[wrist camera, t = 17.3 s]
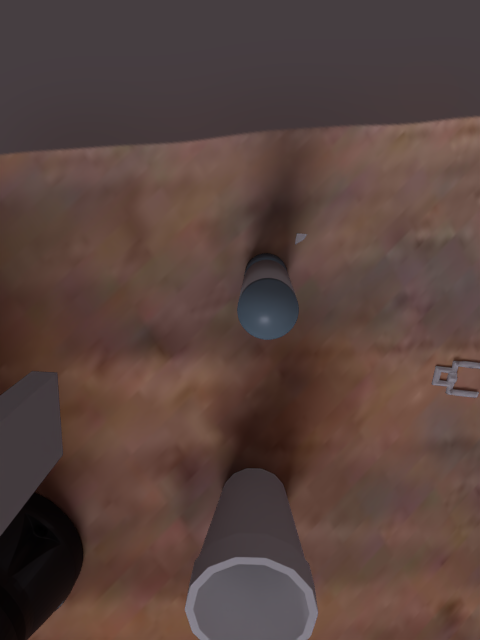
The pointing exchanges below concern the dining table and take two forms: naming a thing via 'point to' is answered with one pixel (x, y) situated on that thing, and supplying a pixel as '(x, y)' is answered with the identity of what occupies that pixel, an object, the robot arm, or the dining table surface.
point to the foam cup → (252, 567)
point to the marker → (267, 298)
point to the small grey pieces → (451, 371)
